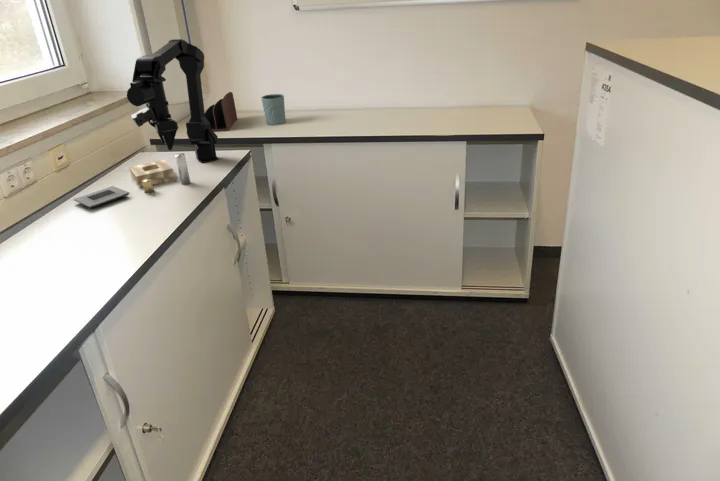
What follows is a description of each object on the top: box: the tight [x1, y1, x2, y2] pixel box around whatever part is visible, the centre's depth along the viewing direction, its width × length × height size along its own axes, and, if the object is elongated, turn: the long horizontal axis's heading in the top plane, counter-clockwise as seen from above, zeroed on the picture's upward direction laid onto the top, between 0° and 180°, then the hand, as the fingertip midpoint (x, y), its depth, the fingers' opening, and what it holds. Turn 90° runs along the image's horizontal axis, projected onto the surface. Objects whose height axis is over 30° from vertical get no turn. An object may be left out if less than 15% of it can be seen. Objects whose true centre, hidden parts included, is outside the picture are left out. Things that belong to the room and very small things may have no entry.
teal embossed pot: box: [260, 93, 286, 126], centre depth 243 cm, size 10×10×12 cm
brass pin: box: [142, 179, 155, 194], centre depth 175 cm, size 3×3×4 cm
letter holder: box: [204, 91, 238, 133], centre depth 243 cm, size 10×20×14 cm, turn 0°
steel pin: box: [174, 152, 192, 186], centre depth 179 cm, size 3×3×10 cm
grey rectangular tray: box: [73, 185, 130, 209], centre depth 171 cm, size 13×10×2 cm
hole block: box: [128, 159, 176, 188], centre depth 186 cm, size 12×12×4 cm
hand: (167, 146), depth 177 cm, fingers open, 9 cm apart
